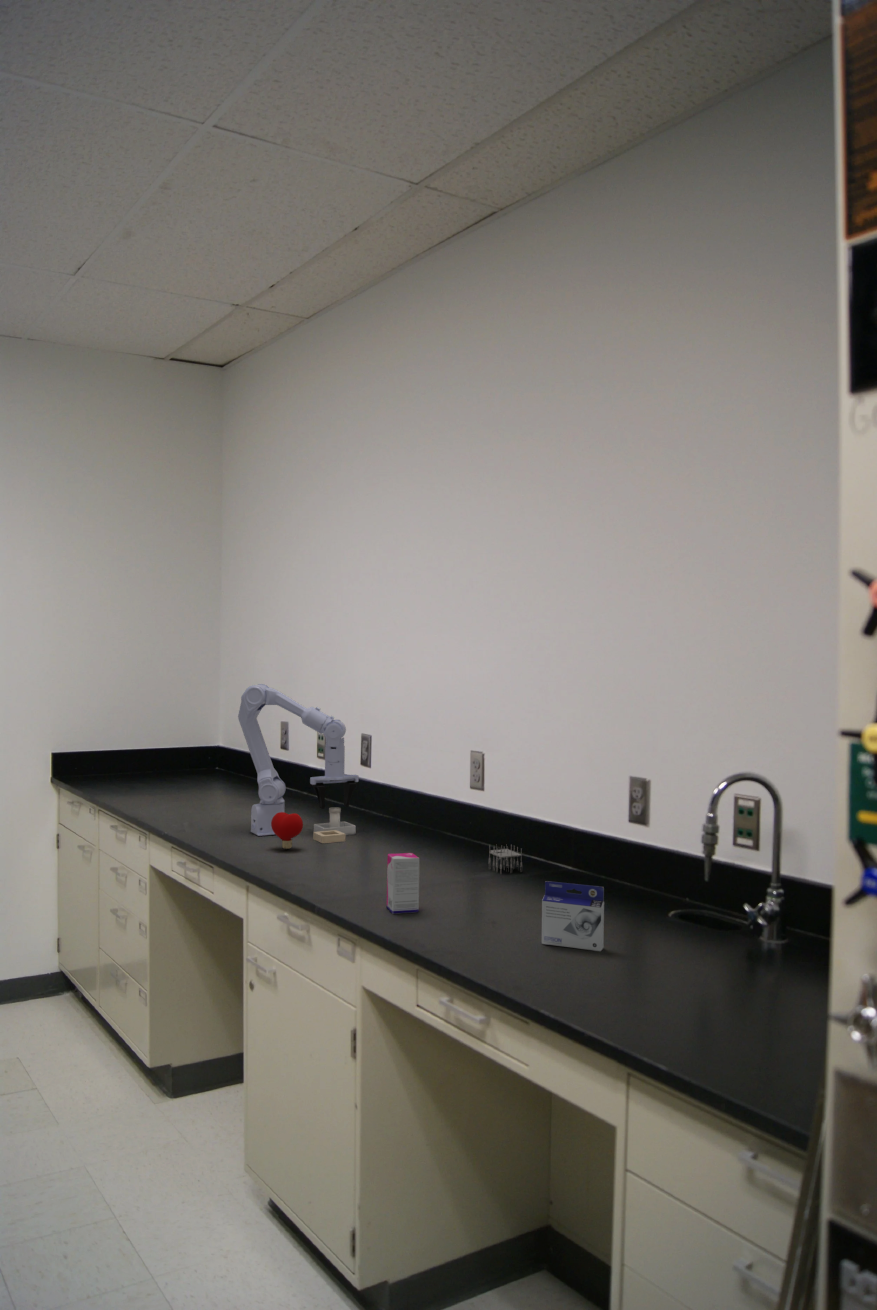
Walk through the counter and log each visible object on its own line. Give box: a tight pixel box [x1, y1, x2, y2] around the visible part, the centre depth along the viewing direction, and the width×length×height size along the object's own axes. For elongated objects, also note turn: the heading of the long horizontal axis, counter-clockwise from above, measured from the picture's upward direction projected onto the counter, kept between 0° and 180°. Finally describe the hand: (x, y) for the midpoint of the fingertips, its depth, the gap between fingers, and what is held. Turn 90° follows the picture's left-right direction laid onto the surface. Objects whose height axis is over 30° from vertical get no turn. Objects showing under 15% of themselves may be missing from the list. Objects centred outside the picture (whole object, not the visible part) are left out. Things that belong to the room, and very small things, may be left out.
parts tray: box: [313, 821, 357, 836], centre depth 286 cm, size 10×8×2 cm
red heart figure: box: [271, 811, 304, 851], centre depth 263 cm, size 9×7×10 cm
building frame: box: [487, 844, 523, 875], centre depth 241 cm, size 6×8×6 cm
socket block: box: [312, 830, 346, 844], centre depth 277 cm, size 7×7×2 cm
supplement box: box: [386, 852, 420, 915], centre depth 204 cm, size 6×6×12 cm
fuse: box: [328, 806, 342, 828], centre depth 286 cm, size 3×3×7 cm
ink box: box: [541, 880, 605, 952], centre depth 179 cm, size 12×2×12 cm, turn 69°
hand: (334, 807), depth 286 cm, fingers open, 7 cm apart
